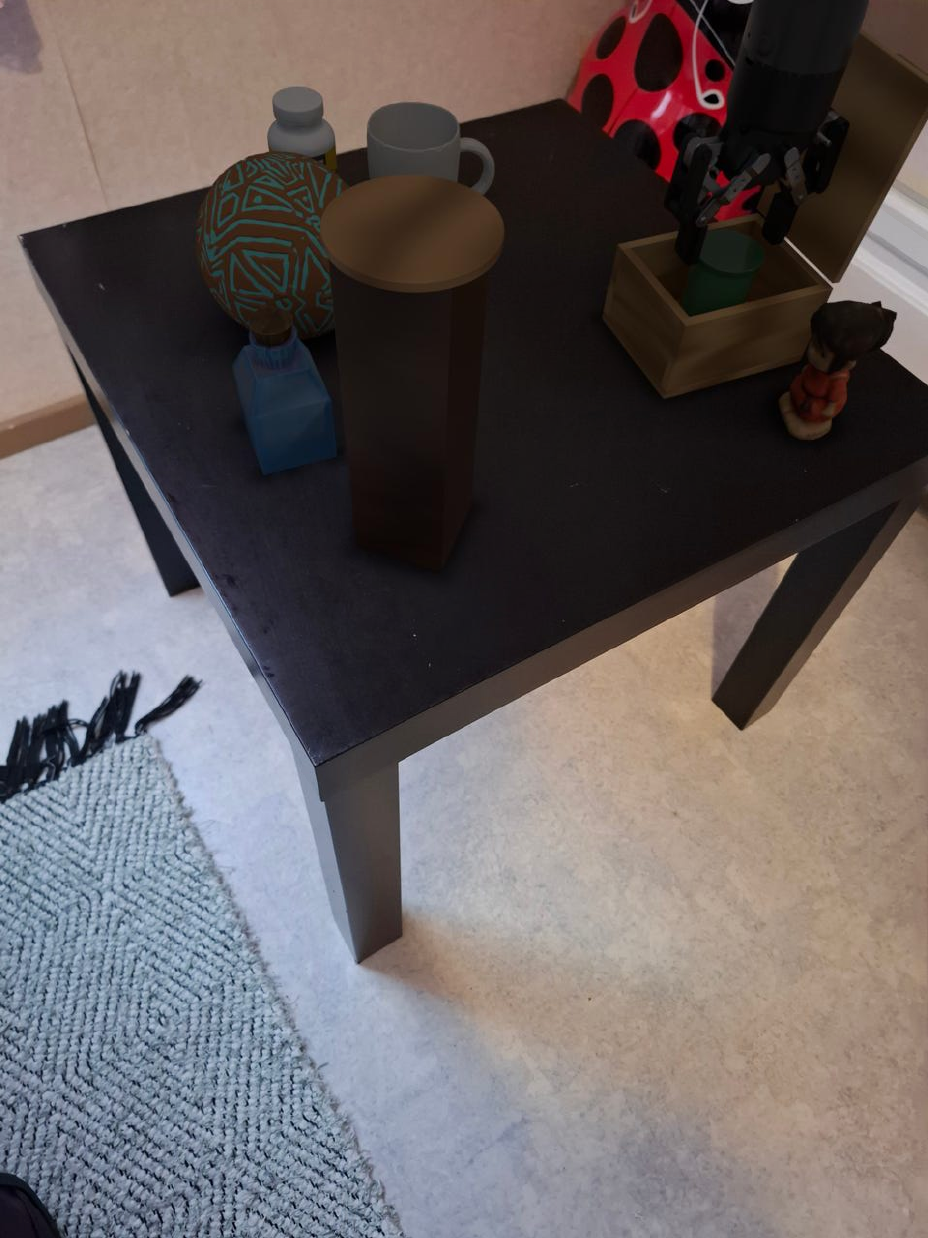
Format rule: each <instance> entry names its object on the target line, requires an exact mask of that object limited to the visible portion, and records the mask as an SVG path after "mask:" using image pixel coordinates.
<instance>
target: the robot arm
mask: <svg viewBox="0 0 928 1238" xmlns="http://www.w3.org/2000/svg"><path fill="white" fill-rule="evenodd" d="M869 3H870V0H752V3H751V7H750V12H749V15H748V18H747V21H746V25H745V28H744V32H743V35H742V39H741V43H740V46H739V49H738V53H737V56H736V61H735V63H734V67H733V71H732V74H731V78H730V81H729V85H728V89H727V92H726V96H725V97H726V99H725V104H726V105H725V107H726V116H725V120H724V122H723V125H722V126H721V128H720V130H719V131H718V132H717V133H716V135H715V136H710V137H708V136H707V137H699V136H698V135H697V134H696V133H695V132H694V131H691V132H688V133H685V135H684V137H683V138H682V140H681V143H680V147H679V150H678V153H677V156H676V160H675V163H674V166H673V169H672V173H671V176H670V179H669V183H668V187H667V190H666V193H665V196H664V199H663V204H662V206H663V207H664V208H665V210H667V211H668V212H669V213H670V214H671V215H672V216H673V217H674V218H675V220H676V222H677V223H679V227H678V230H677V231H678V236H677V240H676V242H675V251H676V252H677V254H678V256H679V257H680V258H681V259H682V261H683V262H684V263H685V264H686V265H687V266H690V265H695V264H697V262H698V259H699V256H700V253H701V249H702V246H703V243H704V240H705V236H706V233H707V230H708V225H707V224H709V222H710V221H711V219H712V218H713V217H714V216H715V215H716V214H717V212H718V211H719V210H720V209H721V208H722V207H727V206H729V205H731V204H732V203H733V201H734V200H735V199H736V198H737V197H738V195H740V193H742V192H745V191H750V190H753V189H755V188H757V187H759V186H760V187H761V186H762V187H766V186H769V185H774V184H775V182H776V183H777V186H778V188H779V190H780V192H778V193H774V196H773V199H772V202H771V205H770V207H769V210H768V213H767V216H766V217H765V219H764V220H765V221H764V224H763V227H762V231H761V232H762V236H763V237H764V238H765V239H766V240H767V241H768V242H769V243H770V244H771V245H772V246H774V245H778V244H781V243H782V242H783V239H784V240H785V238H786V237H785V236H786V235H787V233H788V232H789V230H790V228H791V224H792V223H793V219H794V217H795V215H796V212H797V210H798V207H799V205H801V204H802V203H803V202H804V201H805V200H806V199H807V196H808V195H809V194H811V193H813V192H815V193H816V194H821V193H822V192H824V191H825V190H826V188H827V187H828V184H829V182H830V179H831V176H832V173H833V171H834V168H835V165H836V162H837V160H838V157H839V154H840V151H841V148H842V146H843V143H844V140H845V137H846V135H847V132H848V129H849V126H850V123H849V121H848V120H846V119H845V118H844V117H843V116H842V115H840V114H839V113H838V112H837V111H836V110H834V109H833V108H832V107H831V105H832V102H833V100H834V97H835V95H836V92H837V89H838V87H839V84H840V81H841V79H842V76H843V74H844V71H845V68H846V66H847V63H848V61H849V58H850V55H851V53H852V50H853V47H854V45H855V42H856V40H857V37H858V34H859V32H860V29H862V27H863V24H864V21H865V18H866V14H867V11H868V7H869ZM806 148H807V150H806ZM805 150H806V153H805V156H804V160H803V163H802V165H801V162H800V155H801V154H802V153H803V152H804V151H805ZM818 162H819V169H818V171H817V170H816V166H817V163H818ZM721 173H722V174H723V176H724V178H725V179H726V180H727V181H728V183H727V184H726V185H724V186H721V185H720V184H719V182H718V181H717V180H718V176H719V175H720V174H721ZM710 193H711V195H710V197H709V198H708V199H707V200H706V202H705V203H704V204H703V205H701V203H702V201H704V199H705V198H706V197H707V195H708V194H710Z"/></svg>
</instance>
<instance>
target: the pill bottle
mask: <svg viewBox="0 0 928 1238" xmlns="http://www.w3.org/2000/svg"><path fill="white" fill-rule="evenodd" d="M271 99H272V100H271V102H272V103H271V104H272V112H273V116H274V118H275V120H274V121H273V122H272V123H271V124H270V125H269V128H268V131H267V134H266V139H267V148H268V152H271V151H281V152H293V153H297V154H301V155H305V156H308V157H310V158H313V159H315V160H317V161H318V162H320V163H323V164H324V165H326V166H327V167H329V168H330V169H332V170H333V171H334V172H335V173H336V174H337V175H339V172H338V171H339V170H338V159H337V158H338V157H337V144H336V134H335V131H334V128H333V127H332V125H331V124H330V123H329V122H328V120H326V119H325V118H323V117H324V113H325V111H324V99H323V96H322V94H320V92H319V91H317V90H316V89H313V88H310V87H307V86H288V87H284V88H281V89H280V90H278V91H276V92H275V93H274V94H273V95H272V97H271Z"/></svg>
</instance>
